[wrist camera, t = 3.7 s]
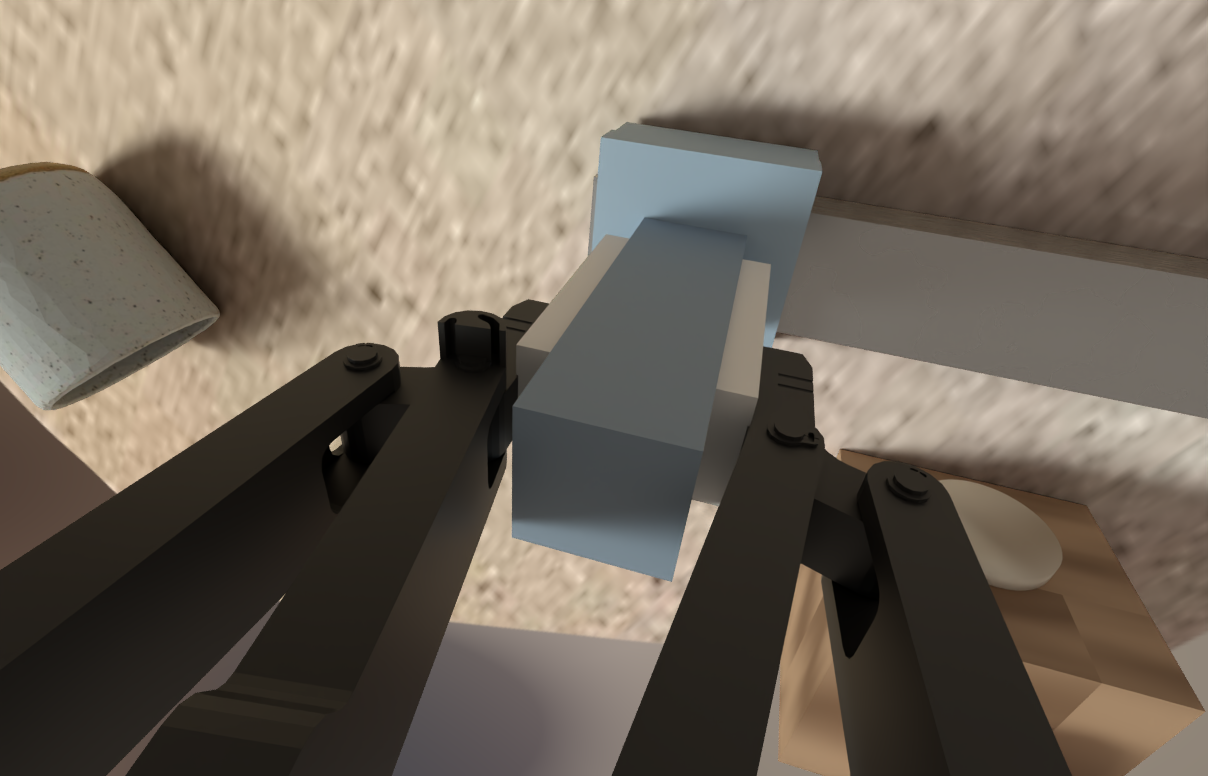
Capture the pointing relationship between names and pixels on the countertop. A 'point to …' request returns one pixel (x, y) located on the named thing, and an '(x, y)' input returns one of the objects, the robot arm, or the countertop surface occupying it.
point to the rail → (1003, 302)
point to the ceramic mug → (84, 287)
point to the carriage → (652, 340)
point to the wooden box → (1019, 637)
